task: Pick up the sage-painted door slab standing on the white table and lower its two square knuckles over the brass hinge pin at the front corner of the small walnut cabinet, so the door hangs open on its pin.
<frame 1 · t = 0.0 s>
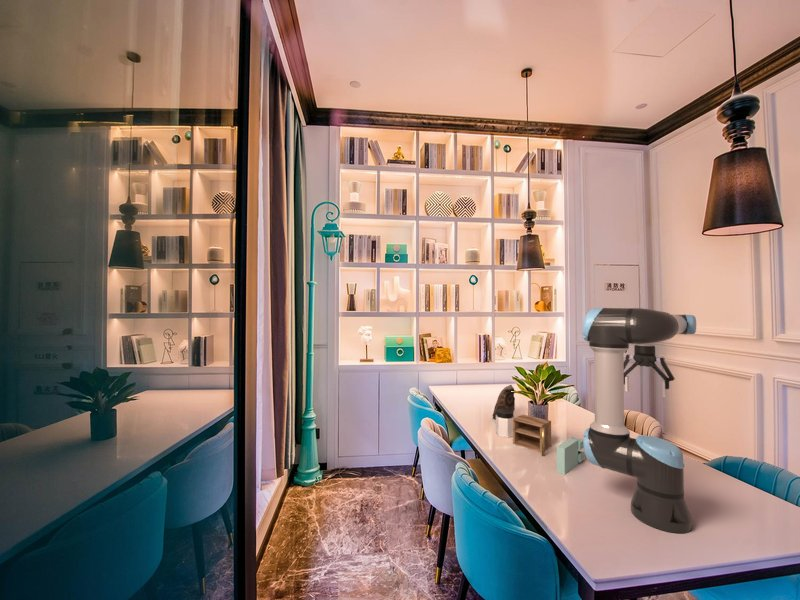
hand: (645, 393, 152), 28 cm above the table, fingers open, 13 cm apart
hinge pin: (543, 455, 153), on the table
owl: (503, 420, 203), on the table
cabinet: (531, 445, 165), on the table
door: (576, 461, 148), on the table
jar: (504, 435, 179), on the table
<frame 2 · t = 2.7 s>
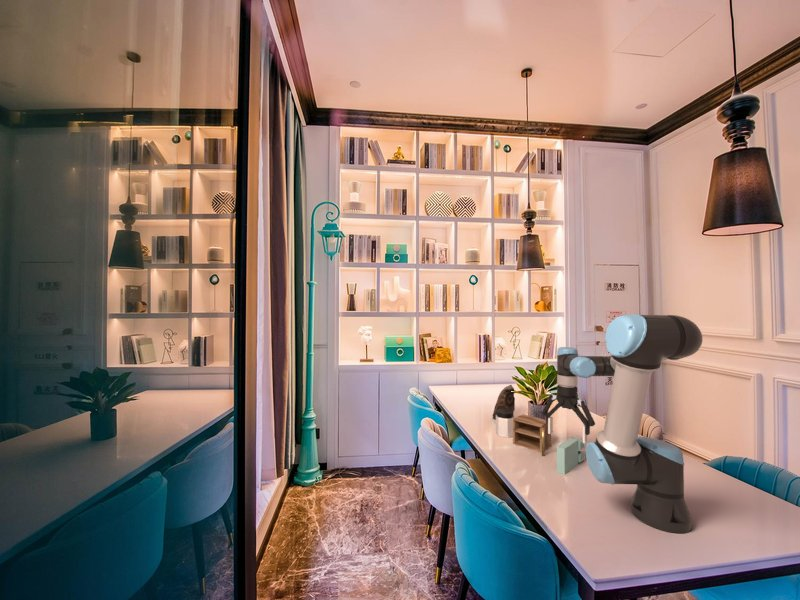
hand: (567, 437, 142), 12 cm above the table, fingers open, 13 cm apart
nothing on the table moved.
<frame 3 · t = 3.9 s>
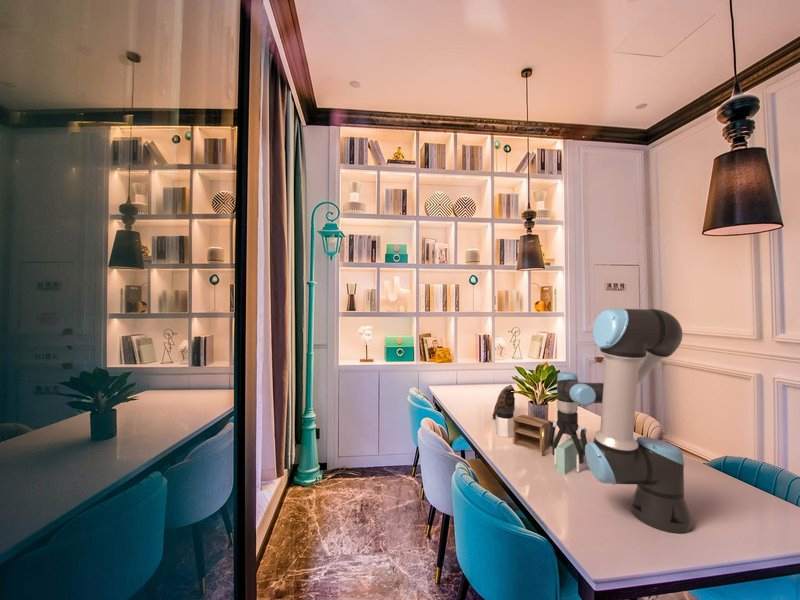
hand: (567, 467, 141), 0 cm above the table, fingers open, 8 cm apart
nothing on the table moved.
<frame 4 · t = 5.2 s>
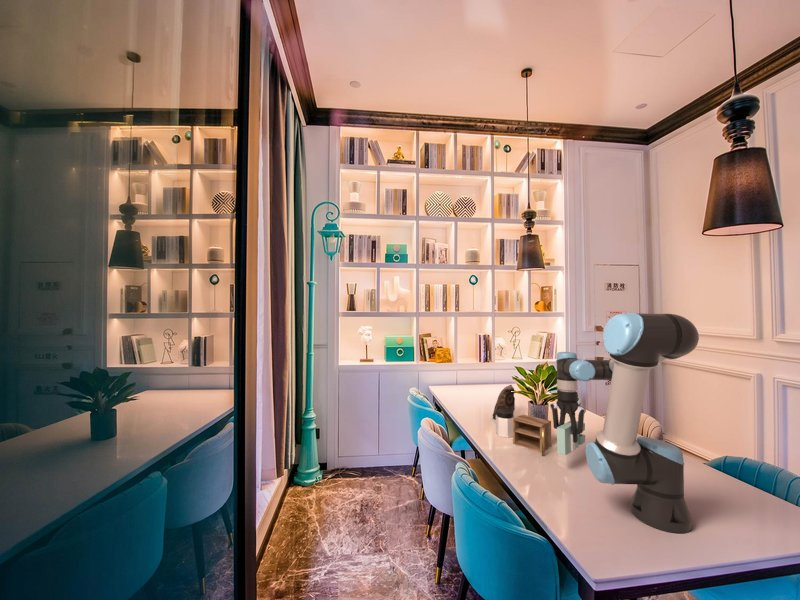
hand: (568, 448, 141), 8 cm above the table, fingers closed on door, 3 cm apart
door: (577, 444, 147), point 7 cm above the table, touching gripper
everything else where it was.
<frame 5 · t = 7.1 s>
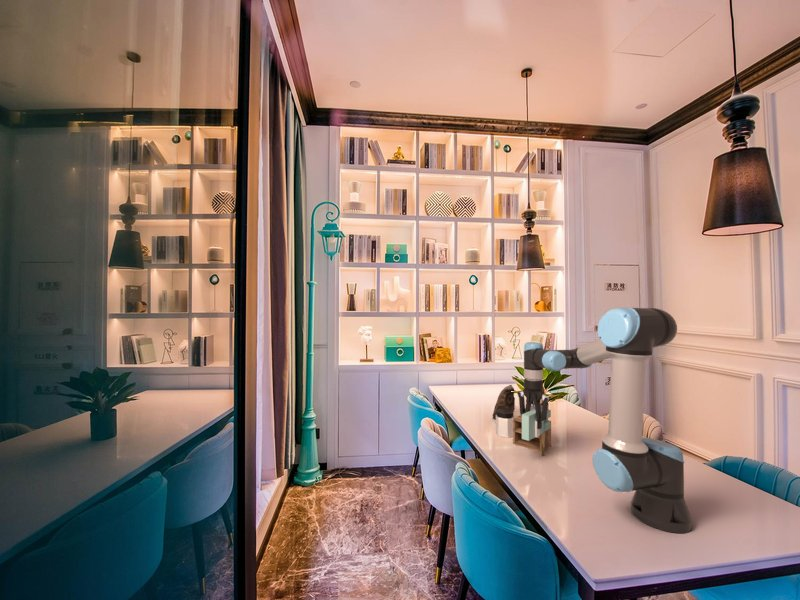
hand: (533, 434, 147), 11 cm above the table, fingers closed on door, 3 cm apart
door: (542, 430, 154), point 11 cm above the table, touching gripper
everything else where it was.
when the fingers open (1 cm above the table, at t = 9.1 s): door stays where it is, on the table.
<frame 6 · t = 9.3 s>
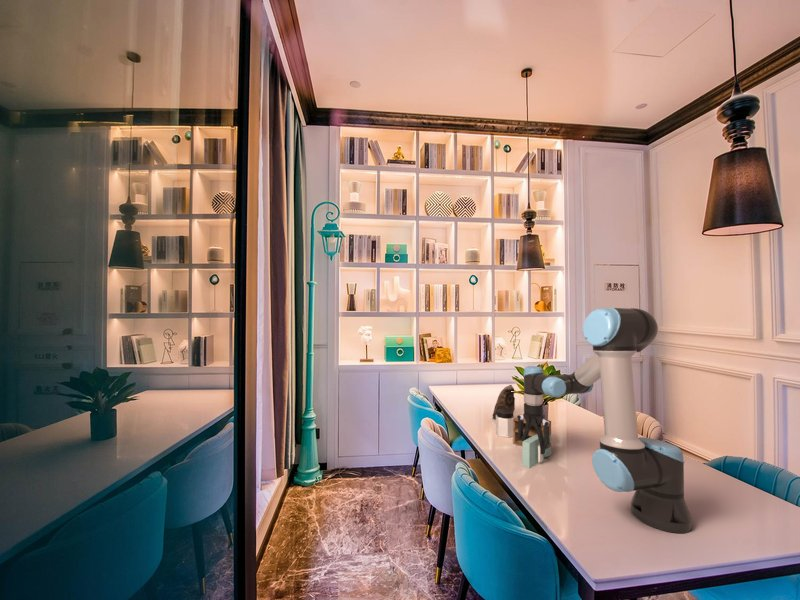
hand: (533, 458, 147), 1 cm above the table, fingers open, 5 cm apart
door: (543, 456, 153), on the table
everything else where it was.
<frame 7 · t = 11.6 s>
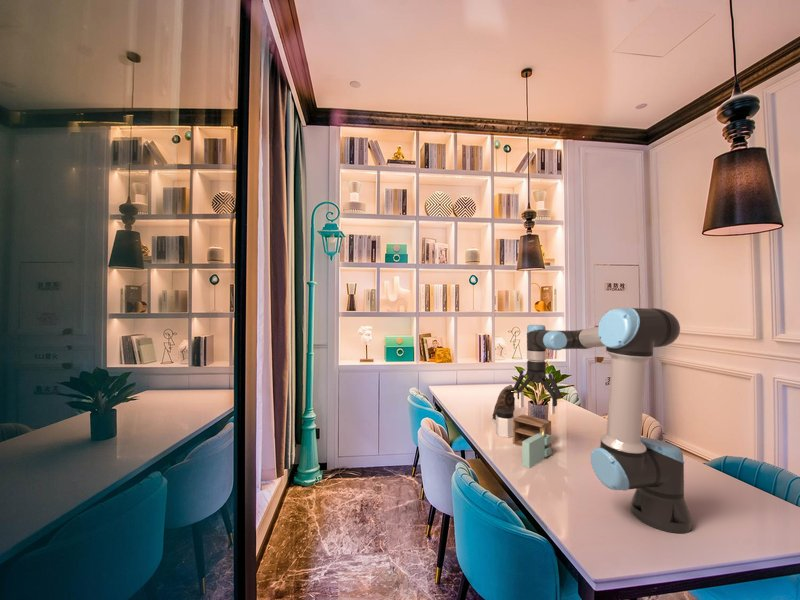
hand: (536, 410, 149), 21 cm above the table, fingers open, 13 cm apart
nothing on the table moved.
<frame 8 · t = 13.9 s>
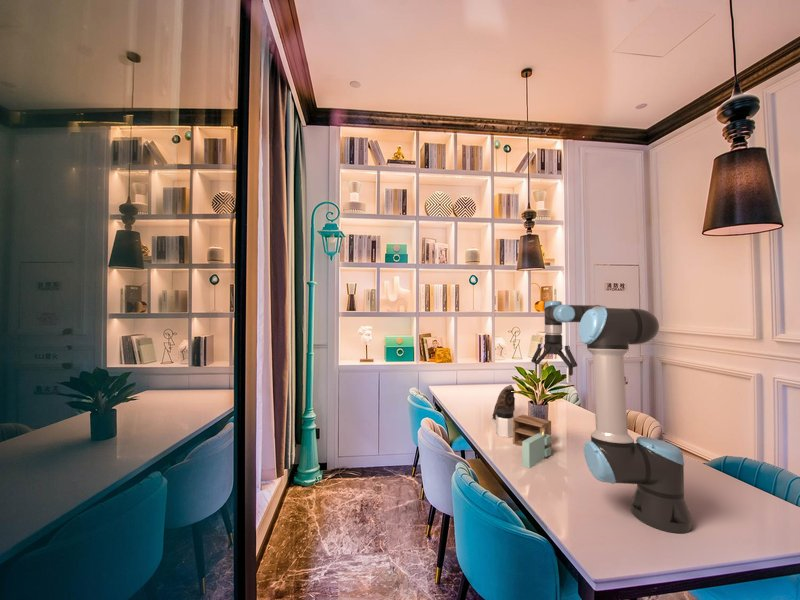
hand: (553, 380, 162), 32 cm above the table, fingers open, 13 cm apart
nothing on the table moved.
at the end: door 0.1 cm from the hinge pin (horizontally); door on the table; door tilted 0° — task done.
